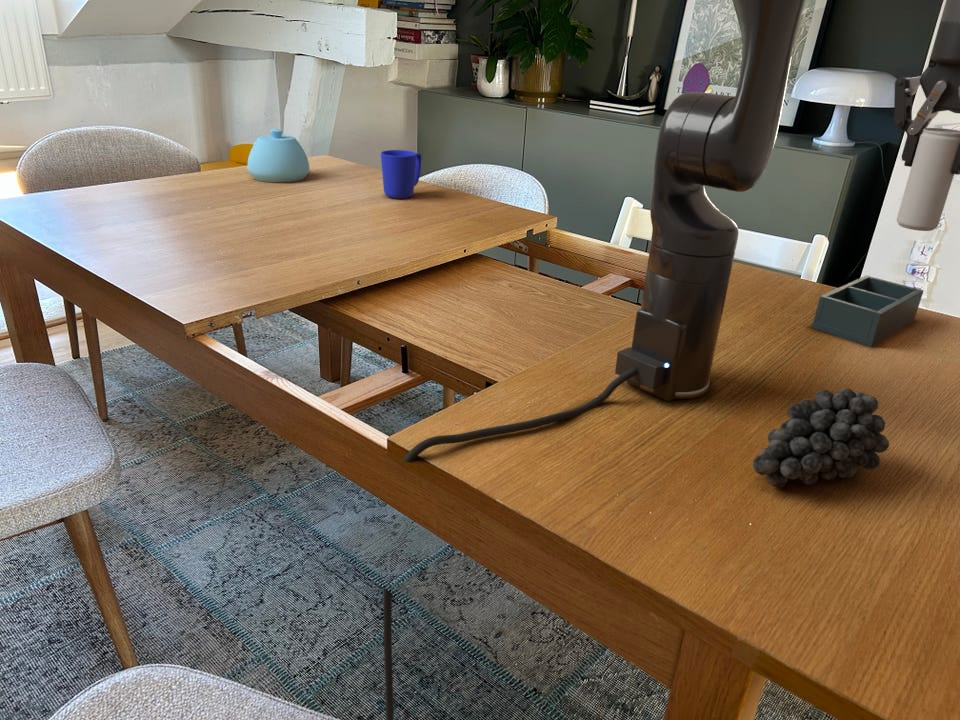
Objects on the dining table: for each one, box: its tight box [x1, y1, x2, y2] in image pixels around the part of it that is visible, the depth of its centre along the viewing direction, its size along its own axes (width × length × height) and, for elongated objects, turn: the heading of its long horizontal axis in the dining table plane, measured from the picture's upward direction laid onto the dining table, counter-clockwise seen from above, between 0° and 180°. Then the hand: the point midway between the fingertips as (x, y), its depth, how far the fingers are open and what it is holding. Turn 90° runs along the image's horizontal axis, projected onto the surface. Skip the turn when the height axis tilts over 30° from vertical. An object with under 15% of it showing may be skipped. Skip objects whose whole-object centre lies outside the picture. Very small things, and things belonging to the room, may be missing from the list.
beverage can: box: [895, 127, 960, 232], centre depth 92 cm, size 5×5×12 cm
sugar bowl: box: [246, 128, 311, 183], centre depth 183 cm, size 15×15×12 cm
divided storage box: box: [811, 274, 924, 348], centre depth 110 cm, size 9×16×5 cm, turn 132°
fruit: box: [752, 387, 890, 488], centre depth 71 cm, size 9×8×15 cm
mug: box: [380, 149, 422, 200], centre depth 172 cm, size 8×12×10 cm
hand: (933, 169), depth 92 cm, fingers closed on beverage can, 5 cm apart
